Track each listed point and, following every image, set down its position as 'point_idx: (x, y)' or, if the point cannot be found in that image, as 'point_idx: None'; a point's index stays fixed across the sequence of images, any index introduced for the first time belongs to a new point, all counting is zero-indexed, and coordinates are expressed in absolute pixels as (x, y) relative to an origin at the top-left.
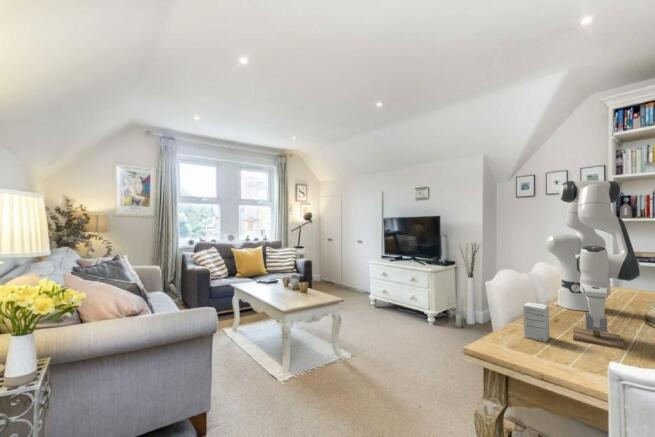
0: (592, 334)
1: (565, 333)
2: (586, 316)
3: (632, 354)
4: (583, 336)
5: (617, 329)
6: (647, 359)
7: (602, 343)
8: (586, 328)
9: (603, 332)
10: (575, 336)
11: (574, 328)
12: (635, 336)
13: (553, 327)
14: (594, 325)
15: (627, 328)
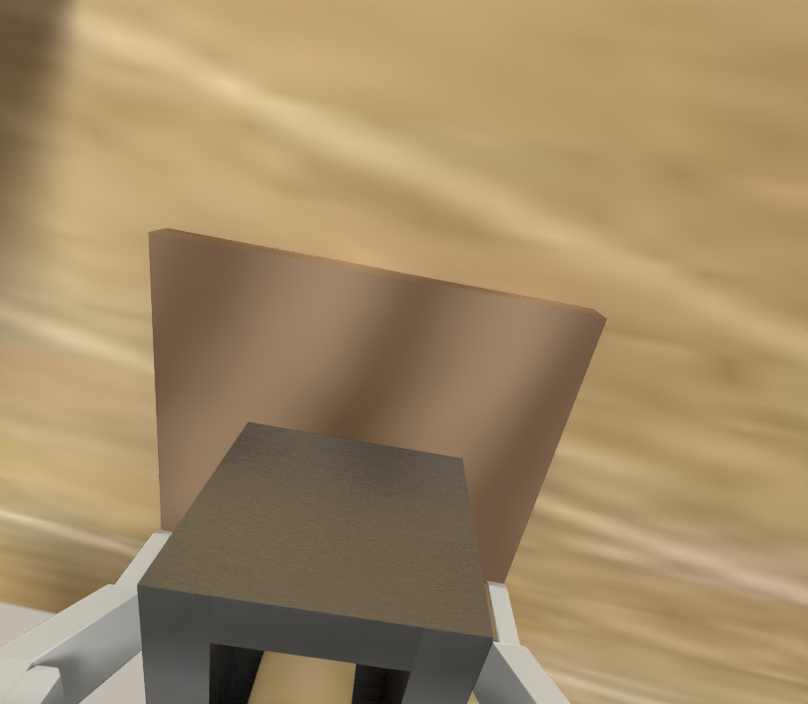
0: (394, 445)
1: (401, 191)
2: (142, 590)
3: (85, 564)
4: (261, 350)
5: (728, 639)
6: (42, 605)
7: (165, 457)
8: (241, 431)
9: (516, 540)
10: (204, 267)
11: (568, 324)
12: (564, 680)
13: (642, 71)
14: (149, 546)
15: (774, 694)
